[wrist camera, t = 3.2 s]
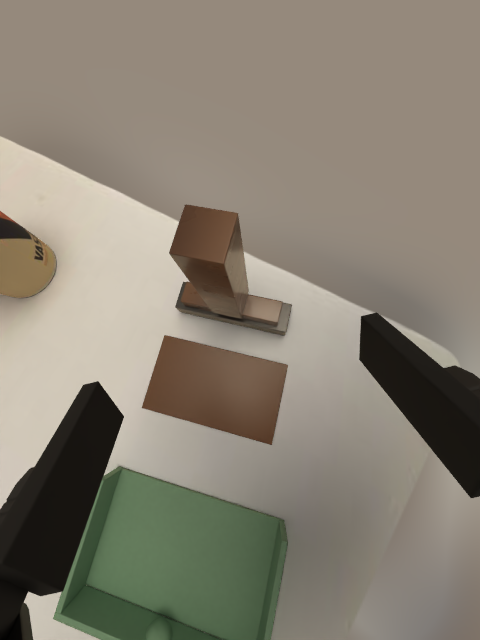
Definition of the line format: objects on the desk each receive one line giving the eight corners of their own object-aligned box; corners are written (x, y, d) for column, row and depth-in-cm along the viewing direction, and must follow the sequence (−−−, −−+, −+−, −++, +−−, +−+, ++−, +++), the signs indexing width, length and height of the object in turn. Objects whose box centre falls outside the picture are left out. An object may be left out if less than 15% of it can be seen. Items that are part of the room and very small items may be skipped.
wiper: (289, 309, 28) (324, 227, 13) (284, 335, 27) (314, 281, 12) (188, 288, 29) (110, 191, 14) (180, 312, 29) (91, 238, 13)
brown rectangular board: (287, 365, 26) (287, 365, 26) (271, 444, 25) (271, 444, 25) (164, 335, 28) (164, 335, 28) (142, 407, 27) (141, 407, 26)
